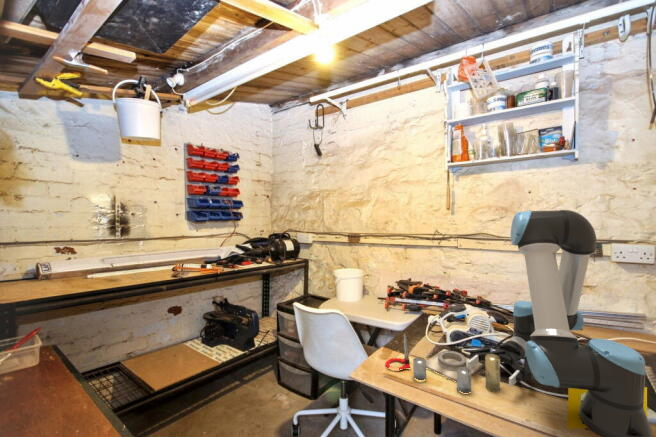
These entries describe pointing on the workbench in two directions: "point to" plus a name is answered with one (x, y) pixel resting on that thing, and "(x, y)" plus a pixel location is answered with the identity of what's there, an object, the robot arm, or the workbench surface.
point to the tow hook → (405, 360)
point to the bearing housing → (450, 364)
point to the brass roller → (492, 372)
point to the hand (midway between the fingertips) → (488, 373)
